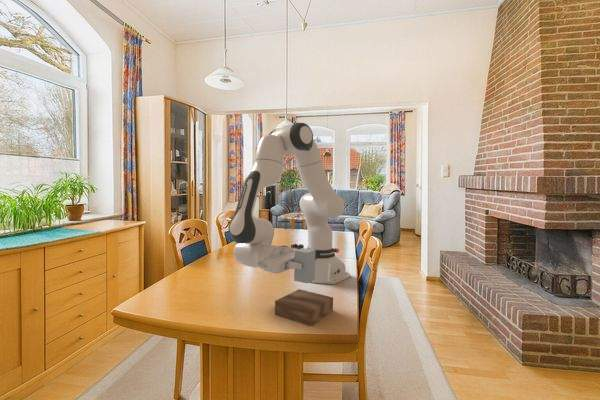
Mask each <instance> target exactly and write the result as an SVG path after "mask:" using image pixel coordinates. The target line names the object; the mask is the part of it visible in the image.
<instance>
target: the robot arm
mask: <svg viewBox="0 0 600 400" xmlns="http://www.w3.org/2000/svg"><path fill="white" fill-rule="evenodd" d="M287 154H293V155H294V157H295V161H296V162H295V163H296V166H297V170H298V174H299V178H300V181H301V184H302V185H303V186H304V187H305V188H306V189H307V191H308V193H305V194H303V195H302V196H301V198H300V200H299V209H300V211H301V212H302V213H303V216H304V219H305V223H306V228H307V247H306V249H312V250H315V280H313V281H311V282H310V283H314V284H329V285H335V284H338V283H340V282H342V281H344V280H347V279H349V278H351V274H350V272H347V270H346V264H345V262H343V261H342V260H341V259H340V258H339V257H337V256H336V254H338V253H339V252H340V249H339V248H338V247H337V248H336V247H334V248H333V238H334V237H333V233H334V232H333V229H332V228H331V226H330V224H329V223H328V219H334V218H339V217H340V216H342V214H343V213H344V210H345V201H344V198H343V197H341V196H340V194H338V193H337V192H336V191H335V190H334V187H333V186H332V184H331V182H330V181H329V179H328V176H327V173H326V170H325V166H324V162H323V158H322V155H321V152H320V149H319V147H318V145H317V143H316V141H315V139H314V133H313V131H312V128H311V127H310V126H309V125H308V124H307V123H305V122H294V123H292V124H286V125H284V126H283V125H282V127H280V128H277V129H273V130H272V131H270V132H268V134H266V135H263V136H262V137H261V138H260V139H259V141H258V144H257V148H256V151H255V156H254V161H253V166H252V167H251V170H250V171H249V172H248V173H247V175H246V177H245V179H244V181H243V184H242V188H241V191H240V194H239V198H238V201H237V204H236V208H235V212H234V213H233V216H232V218H231V220H230V222H229V225H228V232H229V236H230V238H231V240H232V241H233V242H235V246H234V249H233V256H234V259H235V260H236V261H237V263H239V264H240V265H243V266H246V267H250V268H259V269H261V270H263V271H265V272H269V273H272V274H280V273H283V272H285V271H288V270H294V269H302V268H303V263H300V262H298V263H295V250H298V249H296V248H291V245H276V244H275V245H272V243H273V239H274V235H275V227H274V225H273V223H272V222H271V221H270V220H269V219H265V218H262V217H255V216H254V210H255V206H256V203H257V199H258V195H259V194H260V192H261V190H263V189H264V188H269V187H272V186H274V185H276V184H277V183H278V182H279V181H280V179H281V178H282V174H283V168H284V159H285V155H287ZM335 253H336V254H335Z"/></svg>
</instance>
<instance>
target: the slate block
mask: <svg viewBox="0 0 600 400" xmlns="http://www.w3.org/2000/svg"><path fill="white" fill-rule="evenodd" d="M298 262H300V263H303V268H302V269H293V272H294V273H293V274H294V275H293V276H294V277H293V281H295V282H297V283H302V284H303V283H304V284H309V283H312V282H311V281H313V280H315V250H312V249H307V248H305V247H304V248H301V249H298V250H295V263H298Z"/></svg>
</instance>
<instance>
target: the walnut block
mask: <svg viewBox="0 0 600 400" xmlns="http://www.w3.org/2000/svg"><path fill="white" fill-rule="evenodd" d="M332 312H334V296H333V297H332V296H328V295H325V294H320V293H316V292H311V291H308V290H304V289H300V288H299V289H297V290H295V291H292V292H290V293H288V294H287V295H283V296H282V297H281V298H278V299H276V300H275V301H274V315H275V316H277V317H281V318H284V319H287V320H290V321H293V322H297V323H300V324H303V325H305V326H309V327H313V326H314V325H315V324H317V323H318V322H319V321H320V320H322V319H324V318H325V317H327V316H328V315H329V314H331V313H332Z"/></svg>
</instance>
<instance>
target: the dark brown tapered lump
mask: <svg viewBox="0 0 600 400" xmlns="http://www.w3.org/2000/svg"><path fill="white" fill-rule="evenodd" d="M290 248H296V249H301V248H305V246H304V244H303V243H302V244H300V243H299V244H297V243H293V244H290Z"/></svg>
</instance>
